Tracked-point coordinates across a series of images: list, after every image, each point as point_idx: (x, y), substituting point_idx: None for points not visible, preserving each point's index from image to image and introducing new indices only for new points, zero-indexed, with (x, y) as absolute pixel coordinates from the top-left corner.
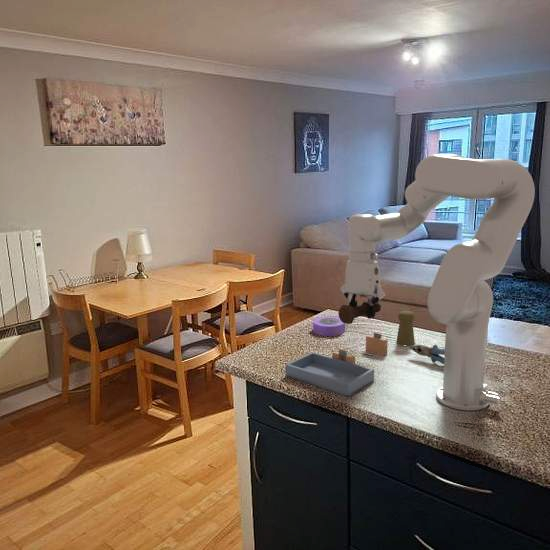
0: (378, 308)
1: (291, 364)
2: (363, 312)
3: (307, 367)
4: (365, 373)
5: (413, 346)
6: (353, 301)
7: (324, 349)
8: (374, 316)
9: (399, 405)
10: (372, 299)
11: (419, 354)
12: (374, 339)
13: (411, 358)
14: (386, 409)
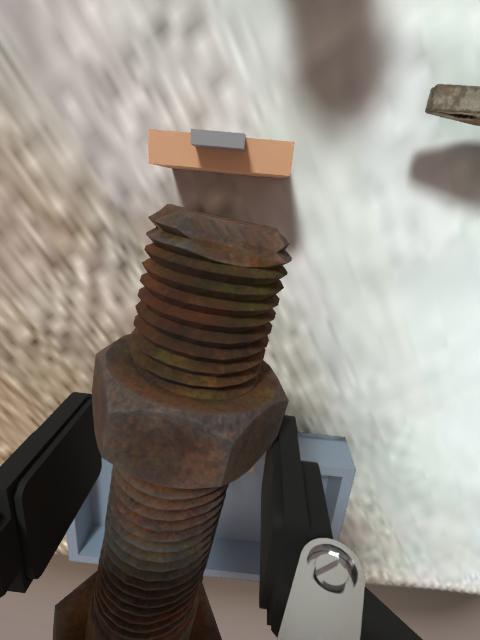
0: (277, 303)
1: (79, 544)
2: (216, 524)
3: (102, 466)
4: (340, 509)
5: (459, 112)
6: (13, 559)
7: (10, 264)
8: (293, 417)
9: (468, 530)
10: (289, 623)
11: (477, 125)
12: (213, 169)
13: (417, 134)
14: (439, 559)
